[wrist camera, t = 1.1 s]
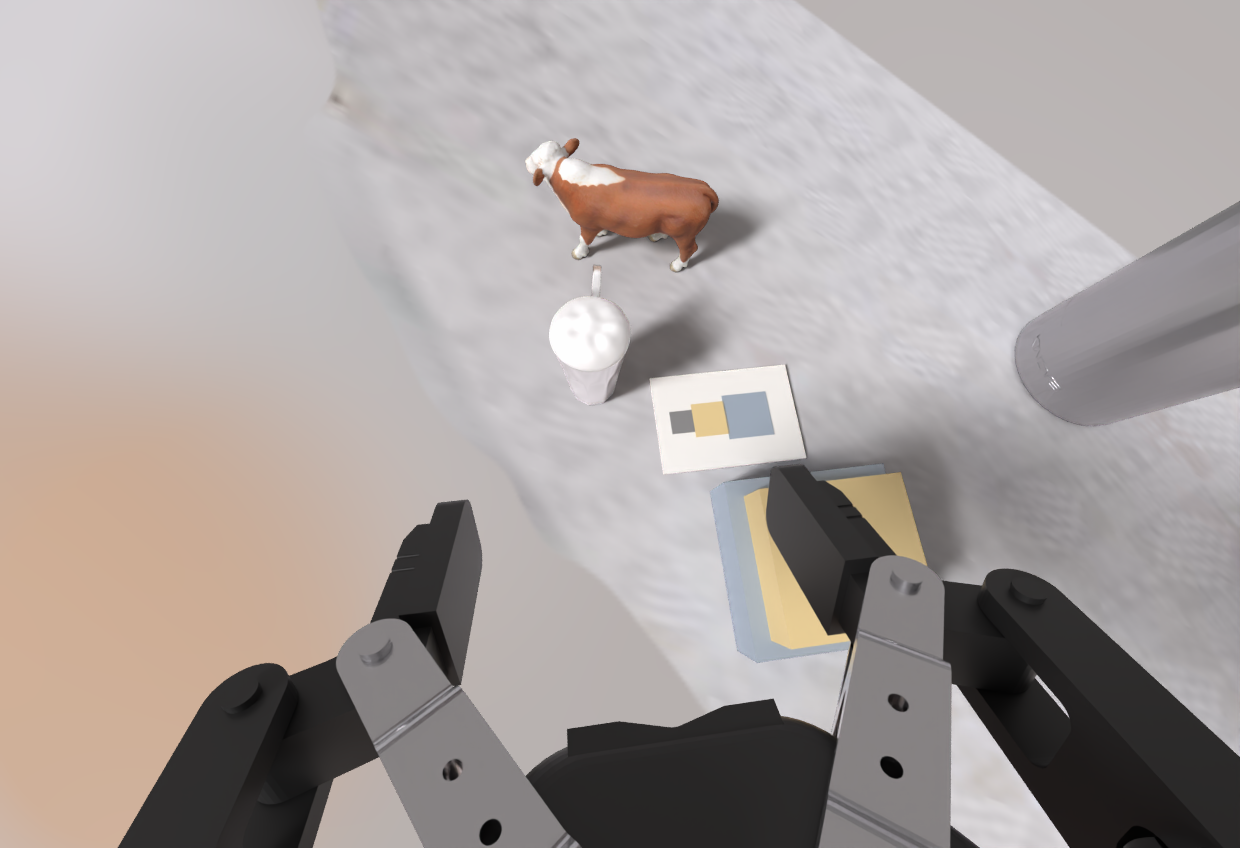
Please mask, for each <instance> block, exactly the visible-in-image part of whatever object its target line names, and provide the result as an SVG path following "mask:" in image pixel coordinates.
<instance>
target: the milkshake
mask: <svg viewBox="0 0 1240 848" xmlns="http://www.w3.org/2000/svg"><path fill="white" fill-rule="evenodd" d="M600 284H601V266H600V265H593V274H592V296H586V297H579V298H575V299H573V300H571V301H569V302H568V303H566V304H565V305H563V306H562V307H561V308H560V309H559V310H558V311H557V312H556V314H555V315H554V317H553V320H552V322H551V326H550V331H549V339H550V344H551V347H552V349H553V351H554V353H555V355H556V357H557V359H558V361H559V363H560V365H561V367H562V369H563V371H564V374H565V377H566V379H567V382H568V384H569V387H570V389H571V390H572V392H573V394H574V396H575V398H576V399H577V400H579V401H581V402H583V403H585V404H588V405H594V404H600V403H604V402H605V401H606V400H607V399H608V398H609V397H610V396H611V395H612V394H613V393H614V390H615V386H616V383H617V379H618V375H619V372H620V368H621V365H622V363H623V360H624V357H625V354H626V352H627V349H628V347H629V343H630V338H631V327H630V323H629V321H628V319H627V317H626V316H625V314H624V313H623V311H622V310H621V309H620V307H619V306H618V305H616V304H615V303H613V302H611V301H609V300H607V299H604V298H600Z"/></svg>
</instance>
